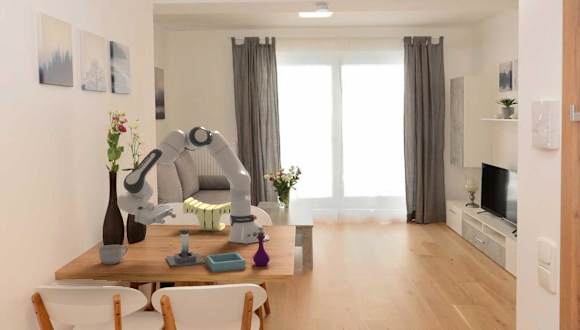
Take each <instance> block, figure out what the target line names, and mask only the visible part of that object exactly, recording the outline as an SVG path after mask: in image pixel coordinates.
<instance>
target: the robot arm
mask: <svg viewBox="0 0 580 330" xmlns="http://www.w3.org/2000/svg"><path fill="white" fill-rule="evenodd" d="M202 148H205V149H206V150H207V151H208V152H209V154H210V155H211V157H212V158H213V159H214V161H215V163H216V164H217V165H218V167H219V169H220V171H222V173H223V175H224V176H225V179H226V180H227V181H228V182H229V190H230V192H229V193H230V202H231V214H230V215H229V224H230V231H229V237H228V242H230V243H236V244H238V243H239V244H245V245H246V244H253V243H259V240H258V238H256V237H257V236H258V233H259V232H260V231H259V229H258V228H259V227H263V226H262V225H261V224H260V223H258V222H257V221H256V220H257V219H258V216H257V215H254V214H252V201H251V200H252V197H251V196H252V195H251V184H252V183H251V182H252V179H251V175H250V173H249V171H247V169H246V168H245V166H244V165H243V163H242V162H241V160H240V158H239V157H238V155H237V154H236V152H235V151H234V149H233V148H232V146H231V145H230V144H229V142H228V141H227V140H226V138H225V137H224V135H222V134H221V133H220V132H219V131H218V130H208V129H206V128H205V127H203V126H195V127H193V128H190V129H189V130H188V131H186V132H184V131H182V130H180V129H175V128H174V129H172V130H170V131H169V132H168V134H166V136H165V137H164V138H162V141H160V144H159V145H158V146H157V147H156V148H154V149H153V150H151V151H150V152H148V154H147V155H146V156H145V157H144V158H143V160H141V161H140V163H139V164H138V165H137V166H136V167H135V168H134V169H133V170H132V171H131V172H130V173H128V174H127V175H126V176H125V177H124V180H123V187H124V189H125V190H126V192H124V193H121V194H120V195H119V196H118V198H117V201H116V202H117V207H118V208H119V209H120V210H121V211H123V212H125V213H127V214H130V215H134V222H136V223H140V224H142V225H145V226H150V225H151V226H152V225H153V224H159V225H164V224H165V223H166V220H165V218H167V217H168V216H169V217H170V218H173V219H176V218H177V214H176V213H174V208H173V206H172V205H171V206H170V205H168V204H164V203H159V204H156V205H155V204H154V203H153V202H150V201H149V200H150V199H151V198H152V196H153V193H154V189H153V187H152V185H151V184H150V182H148V181H147V180H146V177H147V175H148V174H149V173H150V172H151V171H152V169H153V168H154V167H155V166H156V165H158V164H161V165H166V166H167V165H171V164H173V163H174V162H175V161H176V160H177V158H178V157H179V156H180V153H182V151H183V149H185V150H187V151H191V152H193V151H194V152H195V151H197V150H199V149H202ZM262 232H264V236H265V238H264V239H263V242H266V241H270V236H269V235H268V234H266V230H265V228H263V230H262Z"/></svg>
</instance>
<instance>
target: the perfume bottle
mask: <svg viewBox="0 0 580 330" xmlns="http://www.w3.org/2000/svg"><path fill="white" fill-rule="evenodd" d="M263 228H264V227H263V226H262V227H259V228H258V229H259V231H260V232H259V233H258V236H257V237H256V238H258V240H259V242H258V247H257V250H256V252H255V253H254V255H252V259H253V262H254V264H255V266H256V267H266V266H267V265H268V264H269V262H270V259H271V258H270V255H269V254H268V253H267V251H266V250H265V247H264V241H263V239H264V238H265V236H264V232H262V230H263ZM264 229H265V228H264Z"/></svg>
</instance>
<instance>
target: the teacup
mask: <svg viewBox="0 0 580 330" xmlns="http://www.w3.org/2000/svg"><path fill="white" fill-rule="evenodd" d="M124 248H125V250H124V252H123V249H124ZM128 251H129V246H128V245H127V244H123V245H121V244H109V245H103V246H100V247H99V248H98V253H99V260H100V262H101V263H103V264H104V265H115V264H118V263H120V261H121V260H122V259H123V256H125V255H126V254H127V253H128Z"/></svg>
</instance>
